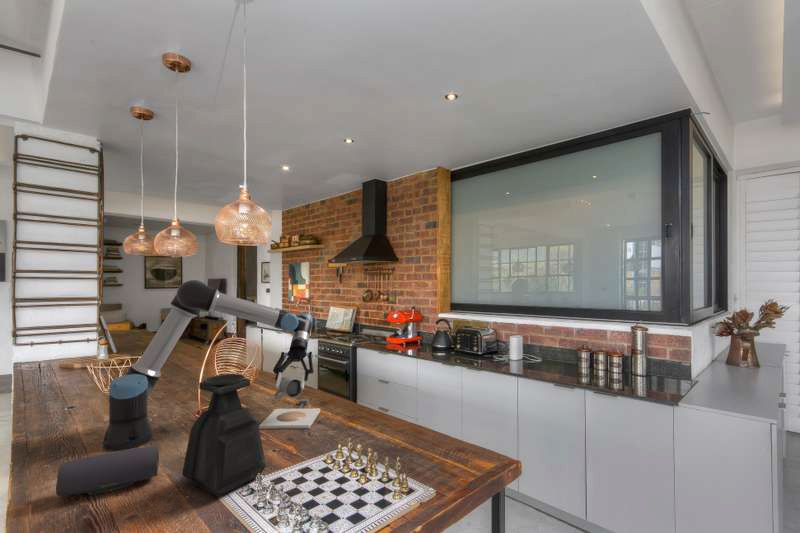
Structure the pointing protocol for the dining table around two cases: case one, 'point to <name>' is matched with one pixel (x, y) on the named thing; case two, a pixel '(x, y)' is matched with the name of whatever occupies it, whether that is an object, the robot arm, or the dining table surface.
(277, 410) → the charging plate
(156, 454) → the bluetooth speaker
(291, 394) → the ceramic mug
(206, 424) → the bottle
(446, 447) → the dining table surface
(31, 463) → the dining table surface
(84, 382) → the dining table surface
